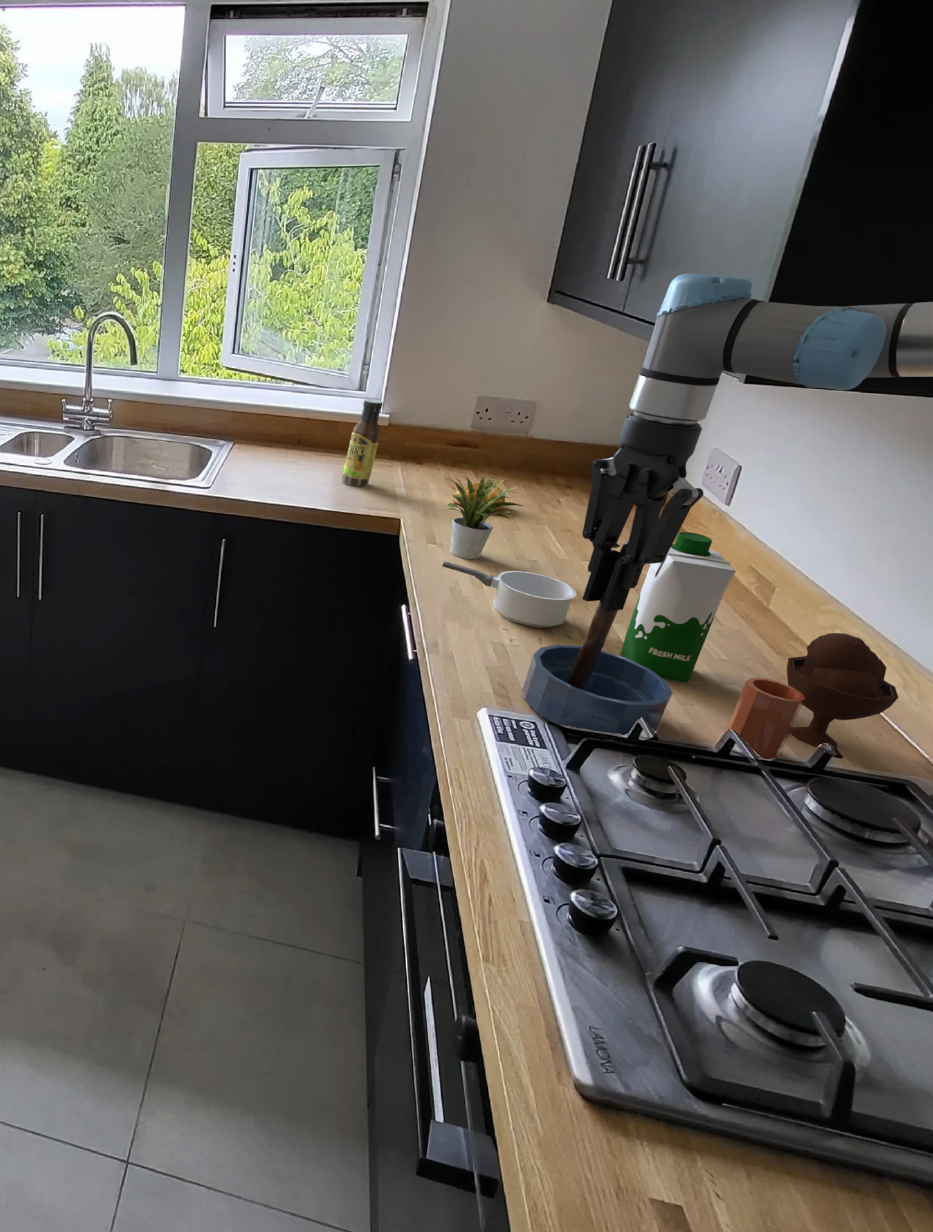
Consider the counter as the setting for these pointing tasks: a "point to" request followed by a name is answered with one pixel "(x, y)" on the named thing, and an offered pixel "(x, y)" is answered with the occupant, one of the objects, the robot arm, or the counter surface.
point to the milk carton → (677, 608)
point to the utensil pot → (766, 715)
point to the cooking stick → (594, 639)
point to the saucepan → (526, 596)
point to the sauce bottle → (363, 445)
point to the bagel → (475, 486)
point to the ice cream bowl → (838, 684)
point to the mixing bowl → (595, 691)
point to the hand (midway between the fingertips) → (602, 604)
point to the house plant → (475, 518)
